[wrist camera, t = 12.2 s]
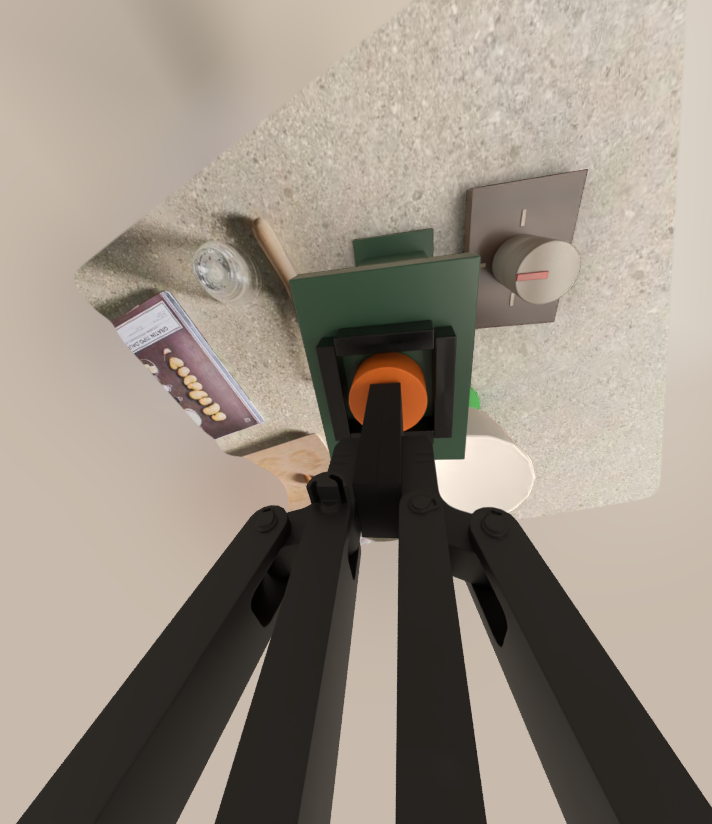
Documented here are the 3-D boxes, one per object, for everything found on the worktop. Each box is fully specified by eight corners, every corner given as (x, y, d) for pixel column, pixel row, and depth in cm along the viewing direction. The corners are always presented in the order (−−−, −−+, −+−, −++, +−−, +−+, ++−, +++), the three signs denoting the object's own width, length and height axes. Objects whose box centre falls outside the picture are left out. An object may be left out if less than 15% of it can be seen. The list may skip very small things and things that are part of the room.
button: (348, 354, 16) (343, 370, 15) (424, 348, 16) (427, 364, 14) (358, 415, 18) (354, 435, 17) (425, 412, 18) (427, 432, 16)
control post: (353, 239, 35) (277, 286, 14) (432, 228, 34) (489, 260, 12) (365, 338, 42) (326, 477, 20) (432, 332, 40) (469, 476, 18)
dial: (548, 230, 30) (591, 236, 23) (537, 283, 33) (573, 303, 26) (495, 237, 31) (522, 244, 24) (489, 288, 34) (511, 308, 27)
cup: (412, 447, 51) (416, 527, 38) (395, 376, 45) (392, 445, 32) (498, 435, 48) (534, 519, 35) (494, 356, 41) (537, 425, 28)
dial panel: (466, 189, 32) (472, 187, 29) (572, 172, 30) (589, 168, 27) (459, 322, 39) (464, 330, 37) (544, 314, 37) (554, 322, 35)
